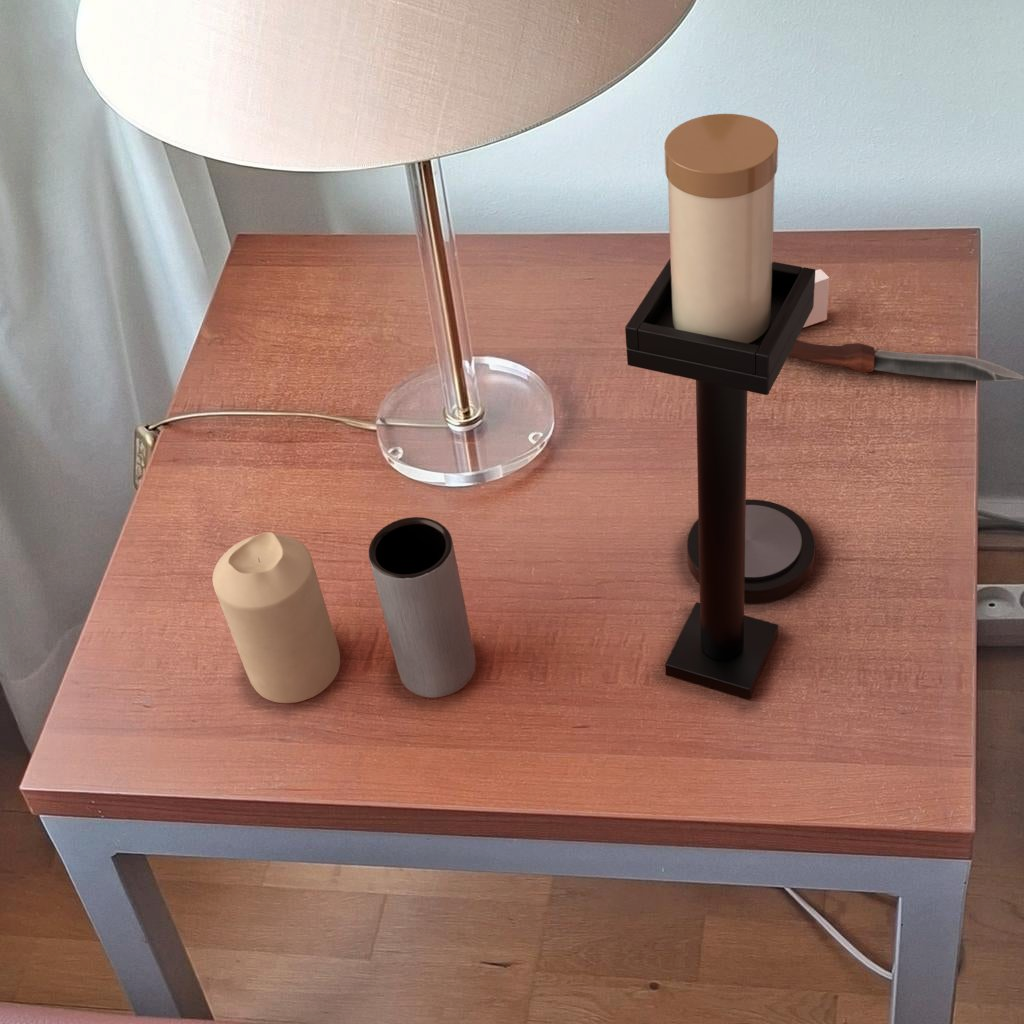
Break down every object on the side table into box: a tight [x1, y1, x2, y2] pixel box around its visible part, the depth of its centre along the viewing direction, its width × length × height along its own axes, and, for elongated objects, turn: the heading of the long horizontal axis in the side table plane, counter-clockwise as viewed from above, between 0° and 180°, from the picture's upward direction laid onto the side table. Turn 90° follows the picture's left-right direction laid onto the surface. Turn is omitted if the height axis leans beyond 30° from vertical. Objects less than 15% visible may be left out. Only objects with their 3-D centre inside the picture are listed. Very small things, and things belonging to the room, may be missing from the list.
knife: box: [788, 339, 1024, 382], centre depth 96 cm, size 18×2×3 cm
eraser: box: [802, 268, 830, 329], centre depth 100 cm, size 1×5×4 cm, turn 112°
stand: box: [624, 258, 816, 701], centre depth 72 cm, size 7×7×25 cm
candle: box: [212, 531, 341, 704], centre depth 80 cm, size 6×6×10 cm
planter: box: [367, 516, 476, 698], centre depth 79 cm, size 4×4×10 cm
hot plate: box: [686, 498, 816, 605], centre depth 85 cm, size 8×8×2 cm
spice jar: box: [663, 113, 779, 344], centre depth 61 cm, size 5×5×9 cm
